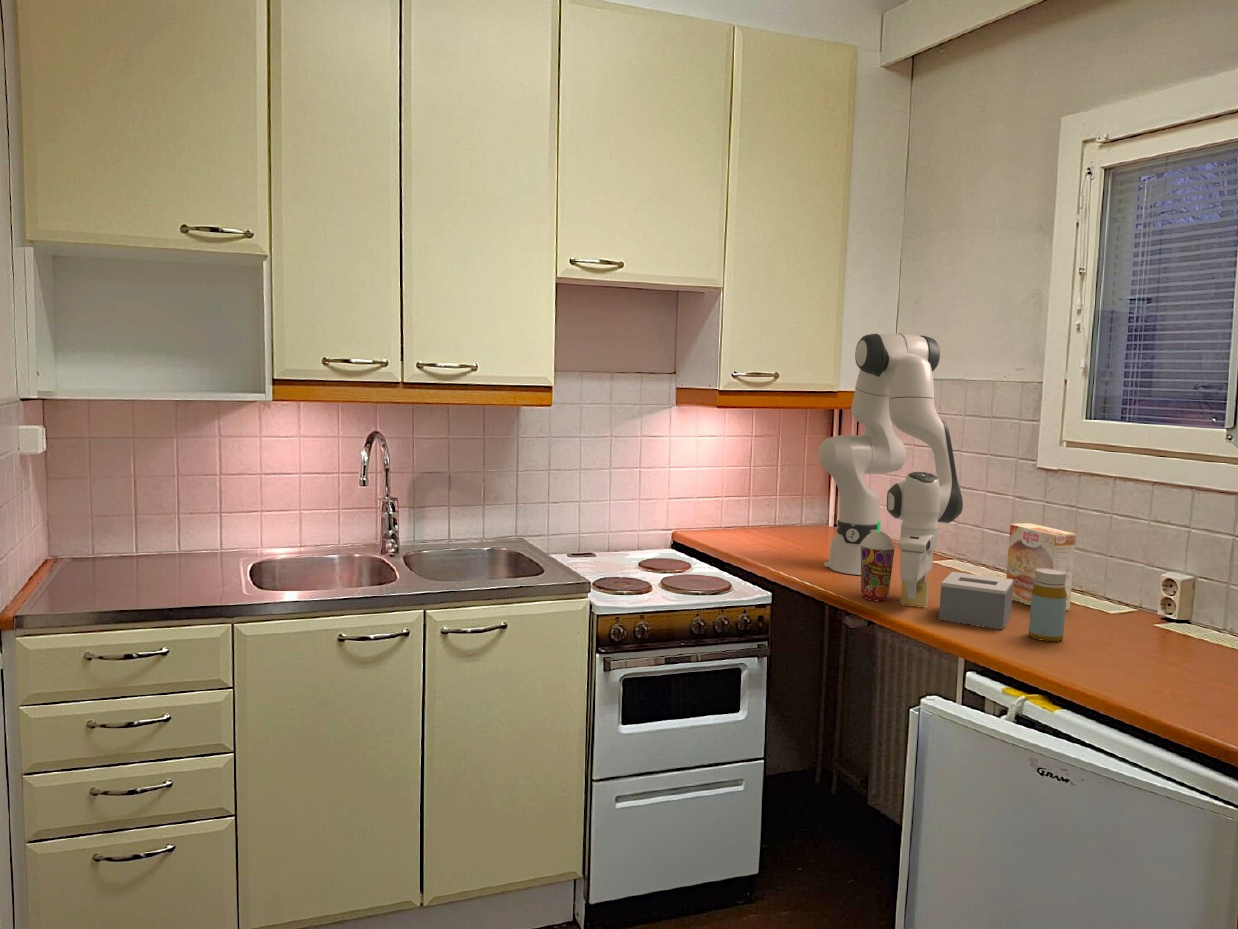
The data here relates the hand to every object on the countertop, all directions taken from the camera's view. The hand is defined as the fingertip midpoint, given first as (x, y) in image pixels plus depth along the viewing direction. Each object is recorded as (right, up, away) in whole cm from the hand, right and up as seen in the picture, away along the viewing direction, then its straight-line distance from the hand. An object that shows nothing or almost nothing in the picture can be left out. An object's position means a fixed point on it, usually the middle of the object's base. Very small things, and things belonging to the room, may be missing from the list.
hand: (915, 594), depth 235 cm
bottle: (+21, -7, -25) cm, 33 cm away
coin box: (+11, -4, -10) cm, 16 cm away
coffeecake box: (+32, -4, +5) cm, 33 cm away
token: (0, -3, +1) cm, 3 cm away
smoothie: (-9, -2, +6) cm, 11 cm away
